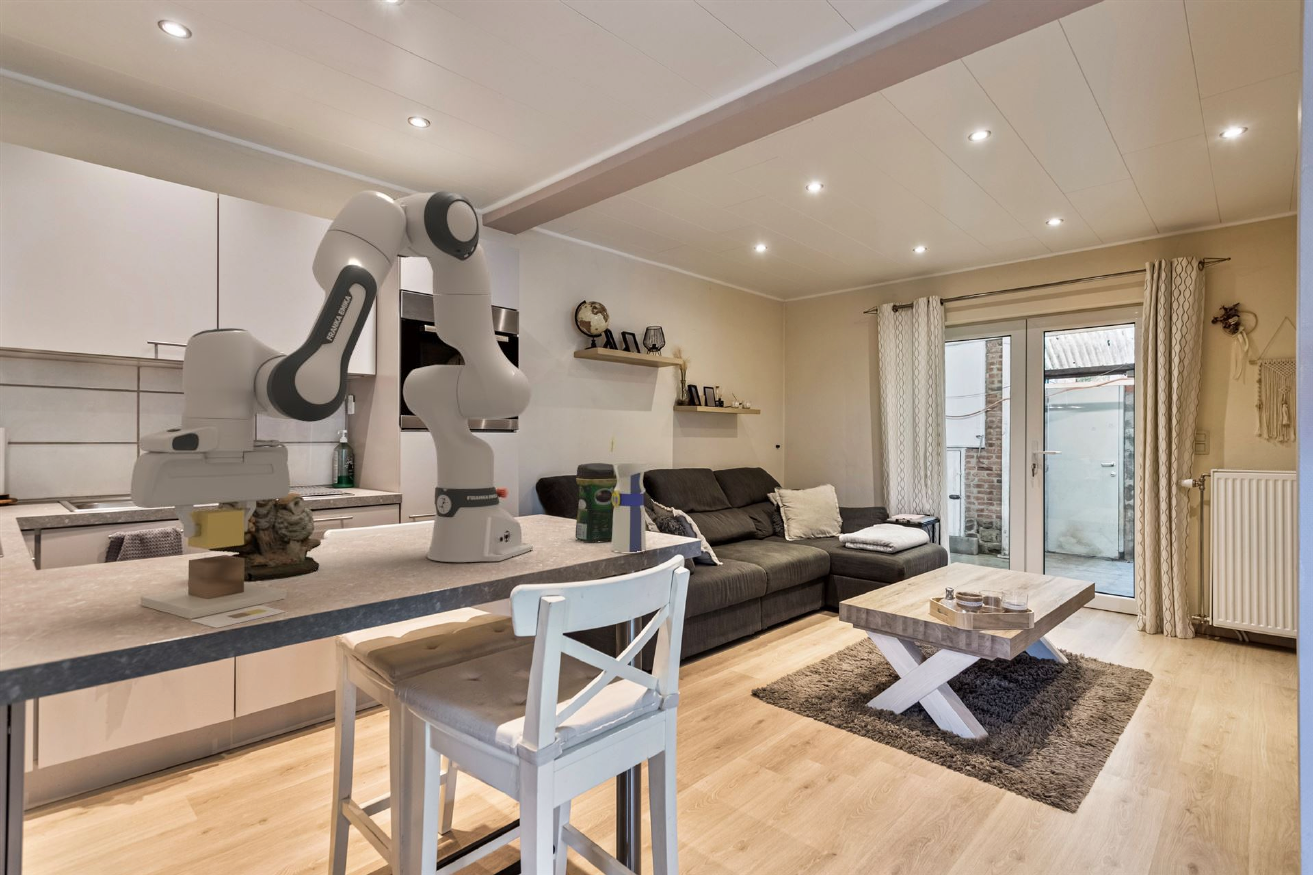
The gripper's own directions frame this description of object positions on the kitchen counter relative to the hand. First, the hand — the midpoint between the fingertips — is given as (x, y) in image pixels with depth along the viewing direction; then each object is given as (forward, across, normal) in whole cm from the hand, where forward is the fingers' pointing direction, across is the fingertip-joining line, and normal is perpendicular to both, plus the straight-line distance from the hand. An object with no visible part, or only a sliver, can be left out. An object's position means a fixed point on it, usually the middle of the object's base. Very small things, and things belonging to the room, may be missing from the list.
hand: (216, 534), depth 95 cm
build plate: (+10, 0, 0) cm, 10 cm away
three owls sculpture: (+10, -15, -13) cm, 22 cm away
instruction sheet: (+10, +2, +10) cm, 14 cm away
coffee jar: (+10, -79, +14) cm, 80 cm away
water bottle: (+10, -71, +28) cm, 77 cm away
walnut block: (+9, 0, 0) cm, 9 cm away
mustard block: (+2, 0, 0) cm, 2 cm away
